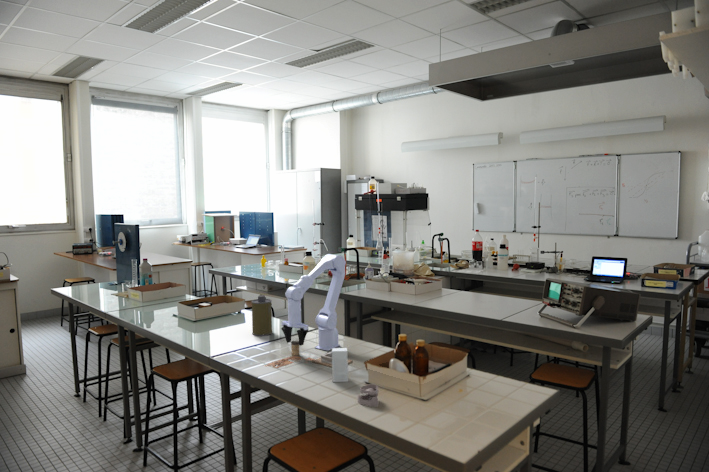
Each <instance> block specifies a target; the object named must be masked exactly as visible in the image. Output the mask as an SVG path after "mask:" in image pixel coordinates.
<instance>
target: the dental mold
mask: <svg viewBox="0 0 709 472" xmlns="http://www.w3.org/2000/svg"><path fill="white" fill-rule="evenodd" d="M359 390H360V394H357V403H358V404H360V405H363V406H367V407H370V408H374V407H376V408H377V407H379V405H380V404H379V403H380V402H379V398H378V396H379V386H378V385H376V384H375V383H374V384H373V383H370V384H364V385H362V386H361V387H360V388H359Z"/></svg>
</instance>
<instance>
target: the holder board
mask: <svg viewBox="0 0 709 472" xmlns="http://www.w3.org/2000/svg"><path fill="white" fill-rule="evenodd" d="M311 362H312V363H313V364H318V365H322V366H327V367H330V368H332V351H329V352H327V353H324V354H323V355H321V356H320V357H319V358H315V360H312V361H311ZM352 363H353V360H352V359H348V365H349V364H352Z"/></svg>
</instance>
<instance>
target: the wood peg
mask: <svg viewBox="0 0 709 472" xmlns="http://www.w3.org/2000/svg"><path fill="white" fill-rule="evenodd" d="M290 343H291V346H290V347H291V356H298V357H300V345H299V340H291V342H290Z"/></svg>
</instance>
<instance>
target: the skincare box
mask: <svg viewBox="0 0 709 472" xmlns="http://www.w3.org/2000/svg"><path fill="white" fill-rule="evenodd" d="M331 352H332V367H331V370H332V371H331V372H332V382H333V383H340V382H341V383H343V382H344V383H345V382H349V364H348V360H349V359H348V347H336V348H332V349H331Z"/></svg>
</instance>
